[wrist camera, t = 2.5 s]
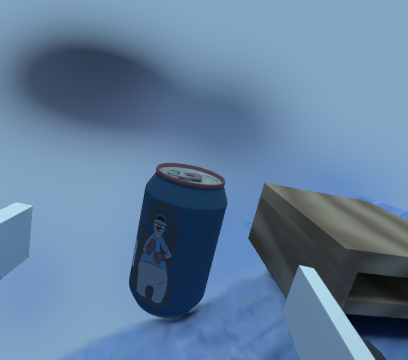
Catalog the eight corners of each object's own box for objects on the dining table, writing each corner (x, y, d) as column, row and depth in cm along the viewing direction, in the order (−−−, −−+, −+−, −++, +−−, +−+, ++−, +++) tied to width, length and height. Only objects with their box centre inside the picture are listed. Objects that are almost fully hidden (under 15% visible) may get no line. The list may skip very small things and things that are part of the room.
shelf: (348, 251, 45) (368, 201, 42) (464, 345, 28) (508, 270, 25) (248, 238, 41) (264, 182, 39) (310, 337, 24) (345, 248, 22)
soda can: (197, 275, 29) (223, 169, 26) (206, 327, 22) (242, 193, 19) (131, 268, 28) (151, 156, 25) (121, 321, 21) (146, 176, 18)
